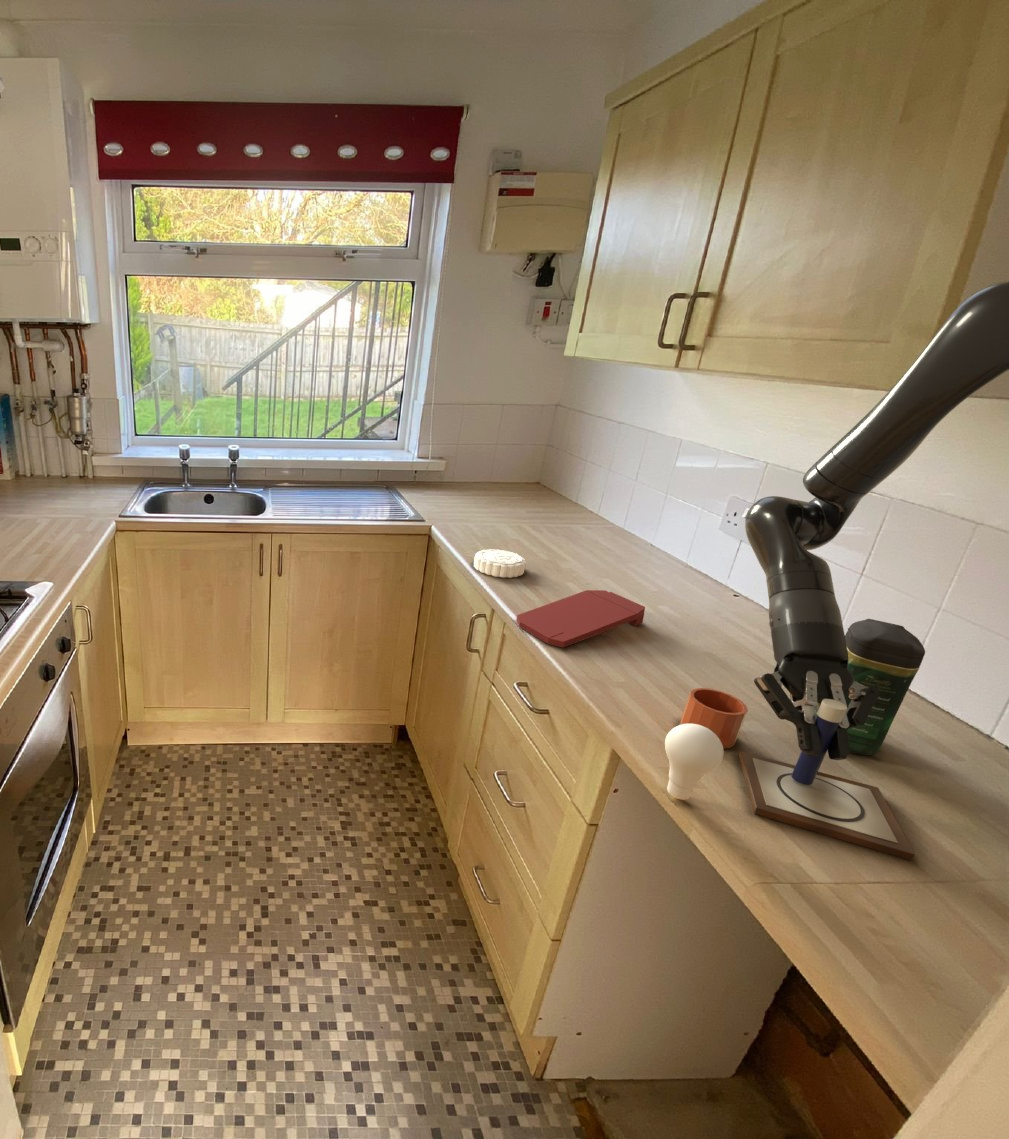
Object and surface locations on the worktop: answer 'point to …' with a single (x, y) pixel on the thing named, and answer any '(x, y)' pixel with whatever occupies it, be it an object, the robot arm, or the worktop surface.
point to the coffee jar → (880, 676)
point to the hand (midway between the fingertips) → (825, 756)
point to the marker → (827, 726)
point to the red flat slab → (580, 617)
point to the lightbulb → (690, 757)
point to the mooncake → (499, 563)
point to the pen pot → (715, 713)
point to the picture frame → (824, 805)
